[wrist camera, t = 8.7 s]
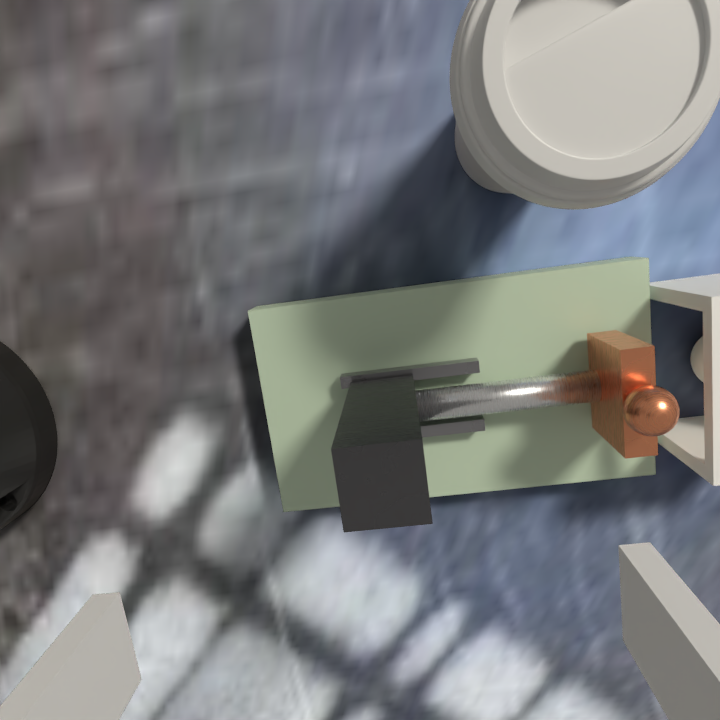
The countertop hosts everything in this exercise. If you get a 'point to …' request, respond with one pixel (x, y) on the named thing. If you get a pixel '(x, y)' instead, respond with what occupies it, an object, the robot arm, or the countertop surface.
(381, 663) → the countertop surface
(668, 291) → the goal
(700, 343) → the ball
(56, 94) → the countertop surface
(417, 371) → the rail guide
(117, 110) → the countertop surface
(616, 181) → the coffee cup
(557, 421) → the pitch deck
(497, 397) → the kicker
